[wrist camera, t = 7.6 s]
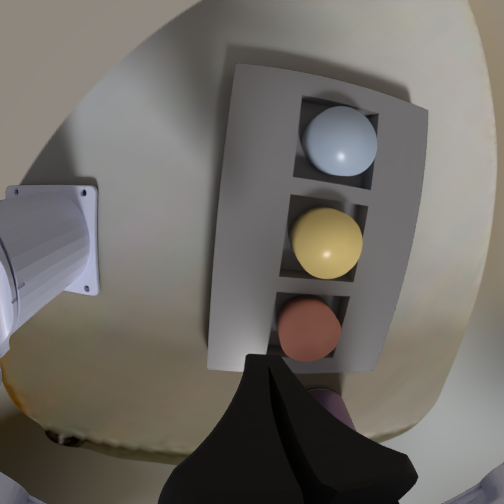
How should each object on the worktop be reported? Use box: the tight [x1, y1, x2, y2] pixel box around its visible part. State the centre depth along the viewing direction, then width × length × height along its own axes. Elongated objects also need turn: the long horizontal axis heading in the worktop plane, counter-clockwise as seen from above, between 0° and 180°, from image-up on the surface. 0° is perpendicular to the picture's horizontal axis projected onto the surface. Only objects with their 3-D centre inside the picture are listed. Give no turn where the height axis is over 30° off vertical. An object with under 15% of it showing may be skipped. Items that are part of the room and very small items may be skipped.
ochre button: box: [290, 206, 363, 279], centre depth 17 cm, size 4×4×2 cm
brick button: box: [276, 295, 341, 362], centre depth 19 cm, size 4×4×2 cm
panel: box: [207, 63, 428, 374], centre depth 18 cm, size 13×20×2 cm, turn 174°
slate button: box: [302, 106, 377, 176], centre depth 15 cm, size 4×4×2 cm
